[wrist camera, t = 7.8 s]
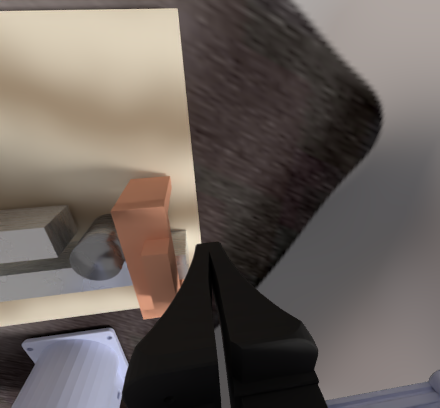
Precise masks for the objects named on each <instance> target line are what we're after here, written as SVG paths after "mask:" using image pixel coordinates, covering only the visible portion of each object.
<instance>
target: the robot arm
mask: <svg viewBox="0 0 440 408" xmlns="http://www.w3.org/2000/svg"><path fill="white" fill-rule="evenodd" d="M212 289H213V294H214V299H215V303H216V308H217V312H218V317H219V321H220V327H221V333H222V340H223V348H224V356H225V363H226V372H227V380H228V388H229V396H230V404H231V408H440V370H437V371H436V372H434V373H433V374H432V375H431V376H430V378H429V381H428V382H423V383H417V384H412V385H407V386H402V387H396V388H391V389H385V390H380V391H375V392H369V393H364V394H358V395H353V396H347V397H342V398H337V399H332V400H326V401H325V400H324V397H323V395H322V393H321V391H320V388H319V386H318V383H319V380H318V377H317V375H316V373H315V371H314V367H315V364H316V360H317V357H318V348H317V346H316V344H315V342H314V340H313V338H312V336H311V335H310V333H309V332H308V330H307V329H306V327H305V326H304V324H303V323H302V322H301V321H300V320H298V319H297V318H295V317H293V316H292V315H290V314H288V313H287V312H285V311H283V310H282V309H280V308H279V307H278V306H276V305H275V304H273V303H272V302H271V301H270V300H269V299H267V298H266V297H265V296H263V295H262V294H261V293H260V292H259V291H258V290H257V289H255V288H254V287H253V286H252V285H251V284H250V283H249V282H248V281H247V280H246V279H245V278H244V276H243V275H242V274H241V273H240V272H239V271H238V269H237V268H236V267H235V266H234V264H233V263H232V262H231V260H230V259H229V257H228V256H227V254H226V253H225V251H224V250H223V248H222V246H221V244H220V243H219V242H211V243H202V244H197V245H196V246H195V252H194V256H193V259H192V262H191V265H190V267H189V270H188V272H187V274H186V277H185V279H184V281H183V283H182V285H181V287H180V289H179V291H178V292H177V294H176V296H175V297H174V299H173V301H172V302H171V304H170V305H169V307H168V308H167V310H166V311H165V312H164V314H163V315H162V316H161V318H160V319H159V320H158V321H157V323H156V324H155V325H154V327H153V328H152V329H151V330H150V331H149V332H148V333H147V335H146V336H145V337H144V338H143V339H142V340H141V341H140V342H139V343H138V344H137V346H136V347H135V349H134V352H133V354H132V357H131V359H130V362H129V365H128V362H127V360H126V357H125V355H124V353H123V350H122V348H121V345H120V343H119V341H118V338H117V336H116V333H115V331H114V329H112V328H102V329H95V330H88V331H81V332H74V333H67V334H60V335H53V336H46V337H38V338H31V339H26V340H24V342H23V343H22V347H23V349H24V350H25V351H26V353H27V354H28V355H29V357H30V358H31V359H32V361H33V362H34V363H35V366H34V367H33V369H32V371H31V373H30V375H29V376H28V378H27V380H26V382H25V384H24V385H23V387H22V389H21V391H20V393H19V394H18V396H17V398H16V400H15V402H14V404H13V405H12V407H11V408H119V407H120V402H121V397H123V400H124V402H125V404H126V406H127V408H221V396H220V383H219V370H218V359H217V350H216V342H215V333H214V325H213V317H212Z"/></svg>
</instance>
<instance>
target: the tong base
mask: <svg viewBox="0 0 440 408" xmlns="http://www.w3.org/2000/svg"><path fill="white" fill-rule="evenodd" d="M171 235H172V240H173V246H174V252H175V258H176V264H177V269H178V275H179V280H180V279H185V277H186V274H187V272H188V270H189V250H188V242H187V235H186V230H177V231H171ZM132 285H133V283H132V280H131V277H130V274H129V270H128V267H127V264H126V261H125V257H124V254H123V251H122V248H121V244H120V241H119V238H118V235H117V231H116V228H115V225H114V222H113V218H112V215H111V214H104V215H101V216H99V217H97V218H96V219H95V220H94V221H93V222H92V224H91V225H90V227H89V228H88V230H87V231H86V232H85V234H84V235H83V237H82V238H81V239H80V241H73V242H69V244H68V245H67V246H66V248H65V249H64V250H63V252H62V253H61V254H60V256H59V257H58V258H48V259H39V260H29V261H20V262H10V263H1V264H0V302H5V301H13V300H21V299H29V298H37V297H45V296H53V295H61V294H69V293H77V292H85V291H93V290H101V289H109V288H116V287H124V286H132Z"/></svg>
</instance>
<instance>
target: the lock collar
mask: <svg viewBox="0 0 440 408" xmlns="http://www.w3.org/2000/svg"><path fill="white" fill-rule="evenodd" d="M171 189H172V186H171V179H170V176H163V177H151V178H139V179H130V181H129V183H128V184H127V186H126V187H125V189H124V191H123V192H122V194H121V195H120V197H119V198H118V200H117V202H116V203H115V205H114V206H113V208H112V210H111V211H110V212H111V215H112V218H113V222H114V225H115V228H116V231H117V235H118V238H119V241H120V244H121V248H122V251H123V254H124V257H125V261H126V264H127V267H128V270H129V274H130V277H131V280H132V283H133V287H134V290H135V293H136V296H137V300H138V303H139V306H140V309H141V313H142V316H143V319H151V318H158V317H161V316H162V315H163V314H164V312H165V311H166V310H167V308H168V307H169V305H170V304H171V302H172V301H173V299H174V297H175V296H176V294H177V292H178V291H179V289H180V287H181V285H182V283H183V281H184V279H180V280H179V275H178V269H177V264H176V258H175V252H174V246H173V240H172V235H171V229H170V223H169V217H168V208H169V202H170V196H171Z"/></svg>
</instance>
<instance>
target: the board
mask: <svg viewBox="0 0 440 408" xmlns="http://www.w3.org/2000/svg"><path fill="white" fill-rule="evenodd" d="M163 176H170V179H171V186H172V189H171V196H170V202H169V208H168V217H169V223H170V229H171V231H177V230H186V235H187V242H188V250H189V267H190V265H191V262H192V259H193V256H194V252H195V246H196V245H197V244H201V237H200V227H199V217H198V207H197V197H196V187H195V177H194V167H193V157H192V147H191V137H190V127H189V118H188V108H187V98H186V88H185V78H184V68H183V58H182V48H181V38H180V28H179V18H178V10H177V8H174V9H108V10H42V11H0V210H11V209H23V208H35V207H47V206H58V205H68V207H69V210H70V212H71V215H72V218H73V220H74V223H75V225H76V228H77V230H78V232H77V233H76V235H75V236H74V237H73V239H72V240H71V241H70V242H73V241H80V239H81V238H82V237H83V235H84V234H85V232H86V231H87V230H88V228H89V227H90V225H91V224H92V222H93V221H94V220H95V219H96V218H97V217H99V216H101V215H104V214H111V212H110V211H111V210H112V208H113V206H114V205H115V203H116V202H117V200H118V198H119V197H120V195H121V194H122V192H123V191H124V189H125V187H126V186H127V184H128V183H129V181H130V179H139V178H151V177H163ZM135 308H140V306H139V303H138V300H137V296H136V293H135V290H134V287H133V285H132V286H124V287H116V288H109V289H101V290H93V291H85V292H77V293H69V294H61V295H53V296H45V297H37V298H29V299H21V300H13V301H5V302H0V327H1V326H9V325H16V324H24V323H31V322H39V321H46V320H53V319H61V318H68V317H76V316H83V315H91V314H98V313H105V312H113V311H120V310H128V309H135Z"/></svg>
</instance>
